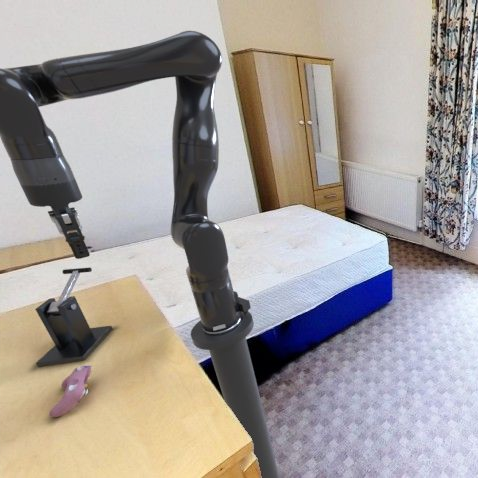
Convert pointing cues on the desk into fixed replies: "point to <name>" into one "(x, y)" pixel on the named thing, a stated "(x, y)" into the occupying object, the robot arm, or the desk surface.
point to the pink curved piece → (72, 391)
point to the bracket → (69, 333)
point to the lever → (67, 289)
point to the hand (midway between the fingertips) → (79, 251)
